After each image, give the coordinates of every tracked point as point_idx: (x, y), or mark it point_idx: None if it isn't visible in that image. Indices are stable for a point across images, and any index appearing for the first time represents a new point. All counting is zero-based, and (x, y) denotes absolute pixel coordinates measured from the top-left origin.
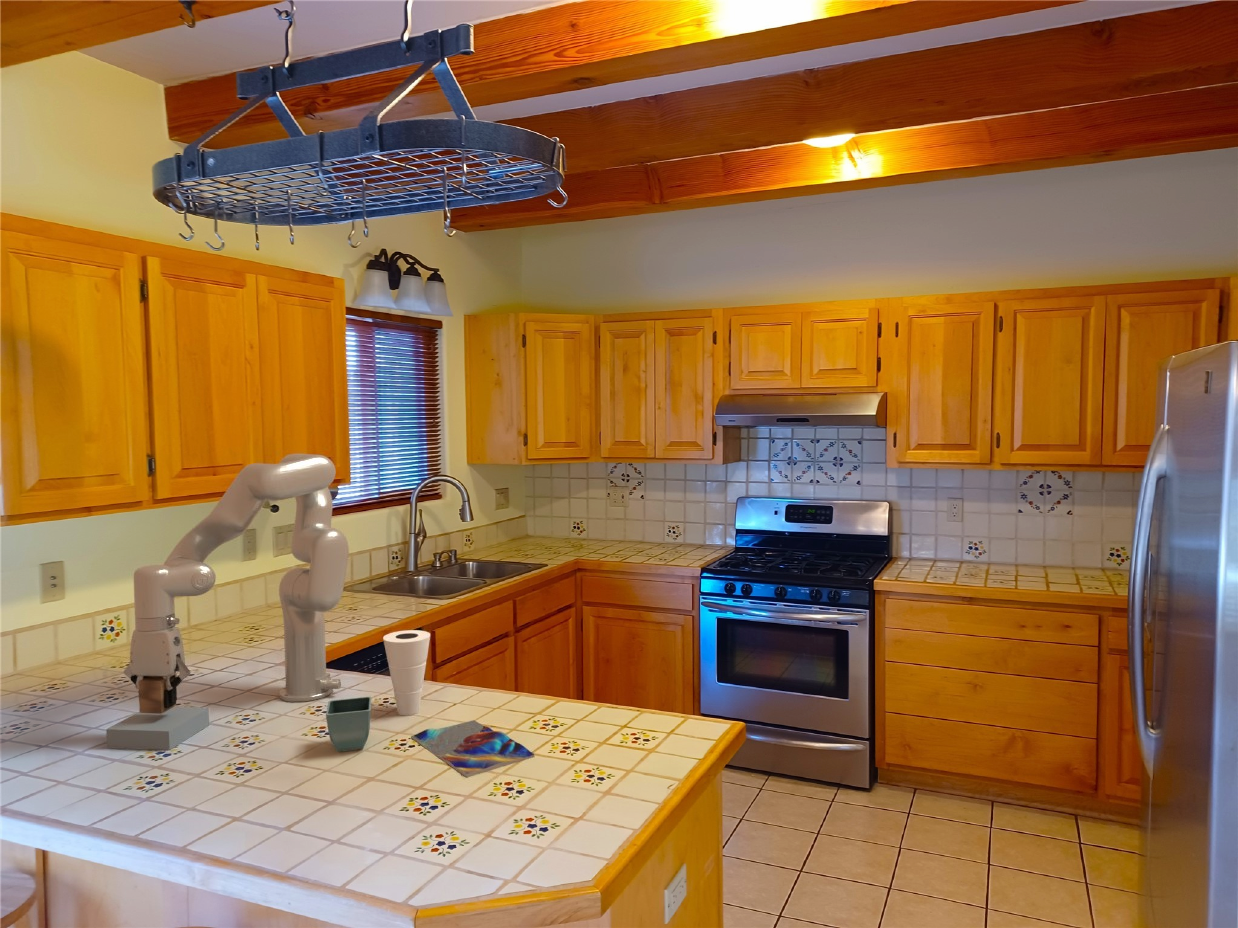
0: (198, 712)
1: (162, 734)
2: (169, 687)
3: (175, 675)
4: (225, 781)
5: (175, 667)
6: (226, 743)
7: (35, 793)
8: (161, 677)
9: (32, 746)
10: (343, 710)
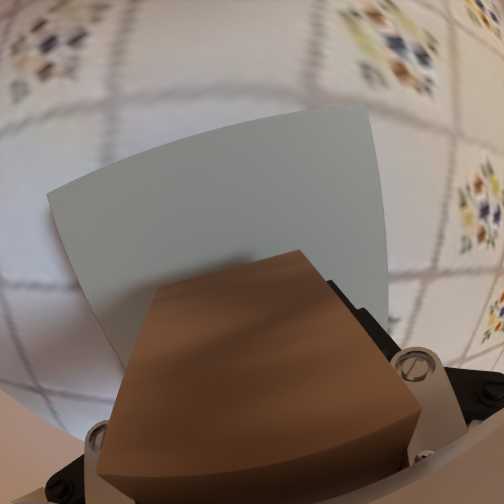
0: (369, 174)
1: None
2: None
3: (458, 433)
4: (494, 347)
5: (488, 483)
6: (462, 234)
7: None
8: (322, 496)
9: (30, 393)
10: None
